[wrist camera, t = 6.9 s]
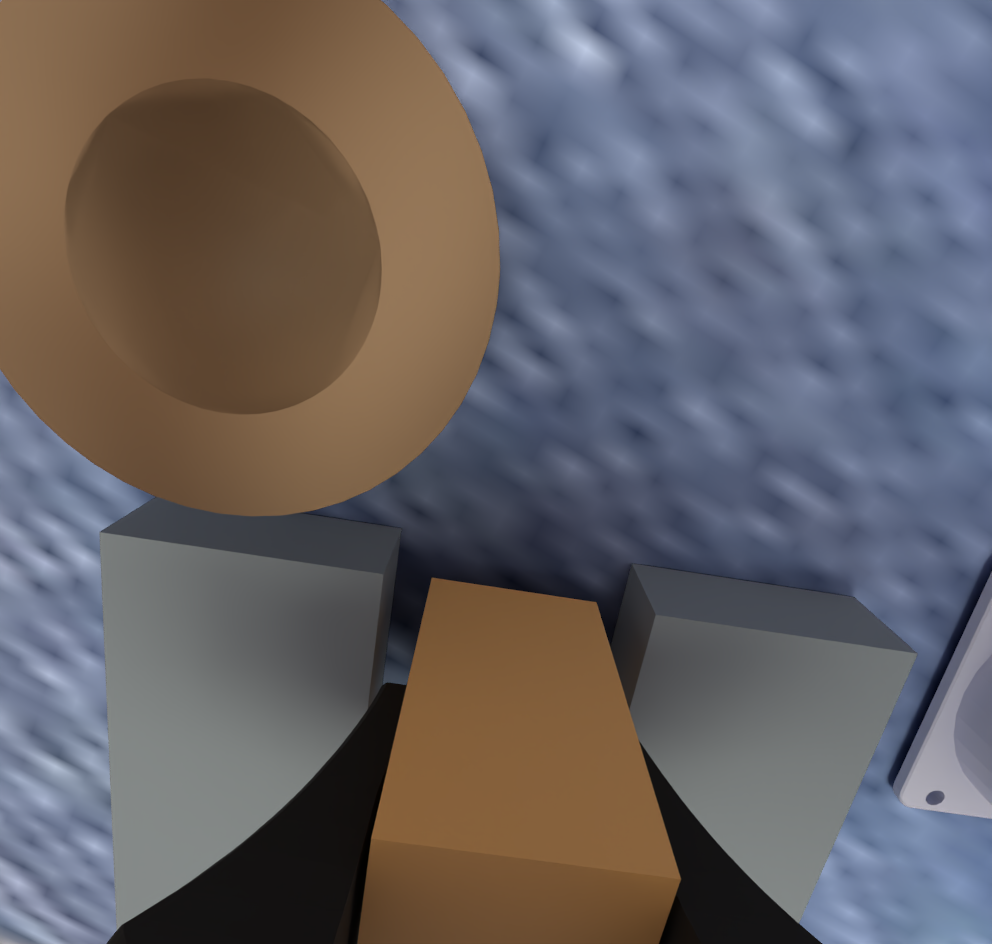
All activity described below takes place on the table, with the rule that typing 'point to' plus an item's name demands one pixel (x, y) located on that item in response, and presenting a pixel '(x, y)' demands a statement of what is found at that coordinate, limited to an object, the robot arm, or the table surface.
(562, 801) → the orange rectangular block
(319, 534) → the notched board
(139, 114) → the bobbin post
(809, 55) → the table surface
